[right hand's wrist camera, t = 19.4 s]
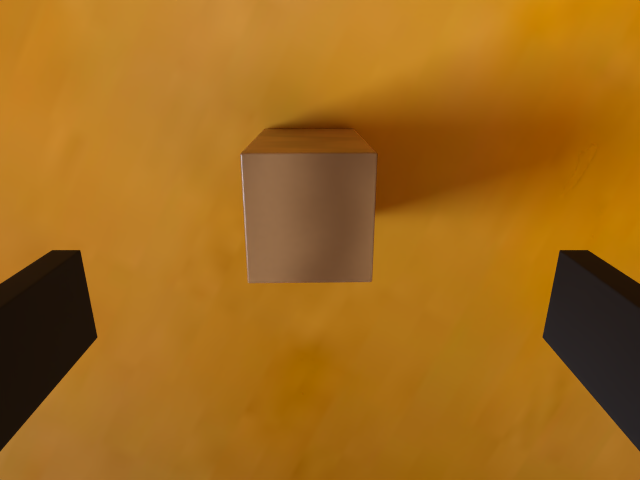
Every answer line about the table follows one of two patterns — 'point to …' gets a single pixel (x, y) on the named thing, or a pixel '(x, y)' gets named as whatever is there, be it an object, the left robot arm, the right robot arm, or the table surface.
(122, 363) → the table surface
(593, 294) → the right robot arm
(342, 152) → the brick
